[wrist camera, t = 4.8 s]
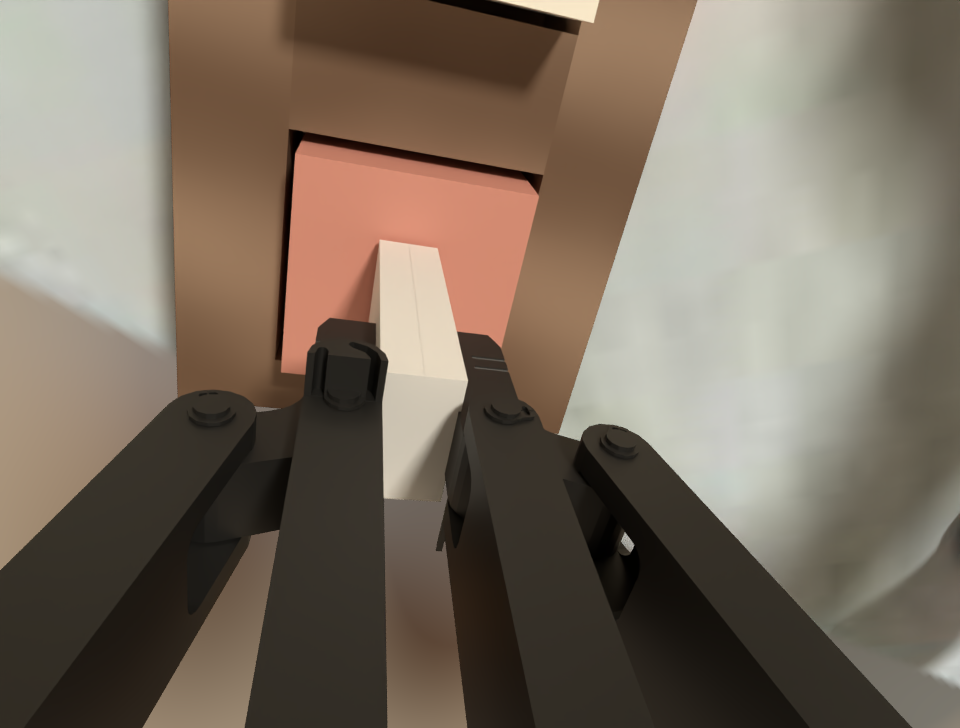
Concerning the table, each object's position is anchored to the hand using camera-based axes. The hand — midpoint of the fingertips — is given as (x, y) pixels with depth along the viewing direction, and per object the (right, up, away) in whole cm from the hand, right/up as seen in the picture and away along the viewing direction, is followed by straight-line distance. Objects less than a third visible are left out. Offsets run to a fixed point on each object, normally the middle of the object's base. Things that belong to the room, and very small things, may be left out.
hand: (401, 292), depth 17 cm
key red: (0, +2, +4) cm, 4 cm away
